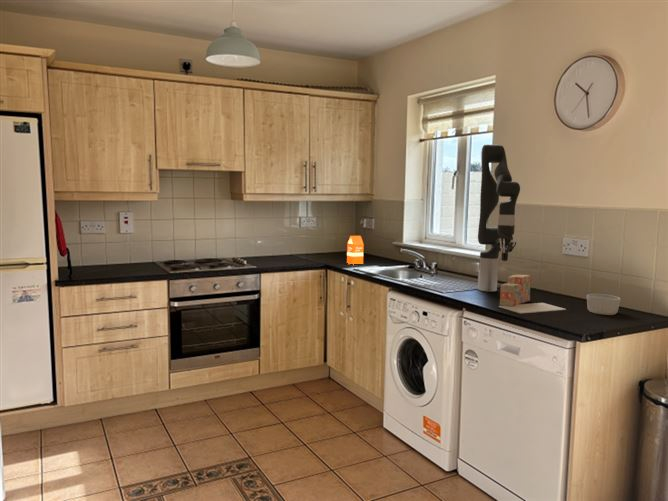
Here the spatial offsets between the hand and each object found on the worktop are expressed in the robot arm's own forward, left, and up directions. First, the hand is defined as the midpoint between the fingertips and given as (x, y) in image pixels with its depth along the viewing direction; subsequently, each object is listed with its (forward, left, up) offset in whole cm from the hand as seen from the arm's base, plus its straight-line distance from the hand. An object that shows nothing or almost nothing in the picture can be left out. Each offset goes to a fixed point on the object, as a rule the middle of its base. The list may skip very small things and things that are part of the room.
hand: (504, 260), depth 251 cm
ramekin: (+35, +25, -19) cm, 47 cm away
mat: (+20, 0, -19) cm, 27 cm away
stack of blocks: (+9, 0, -19) cm, 21 cm away
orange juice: (-135, -18, -19) cm, 138 cm away
